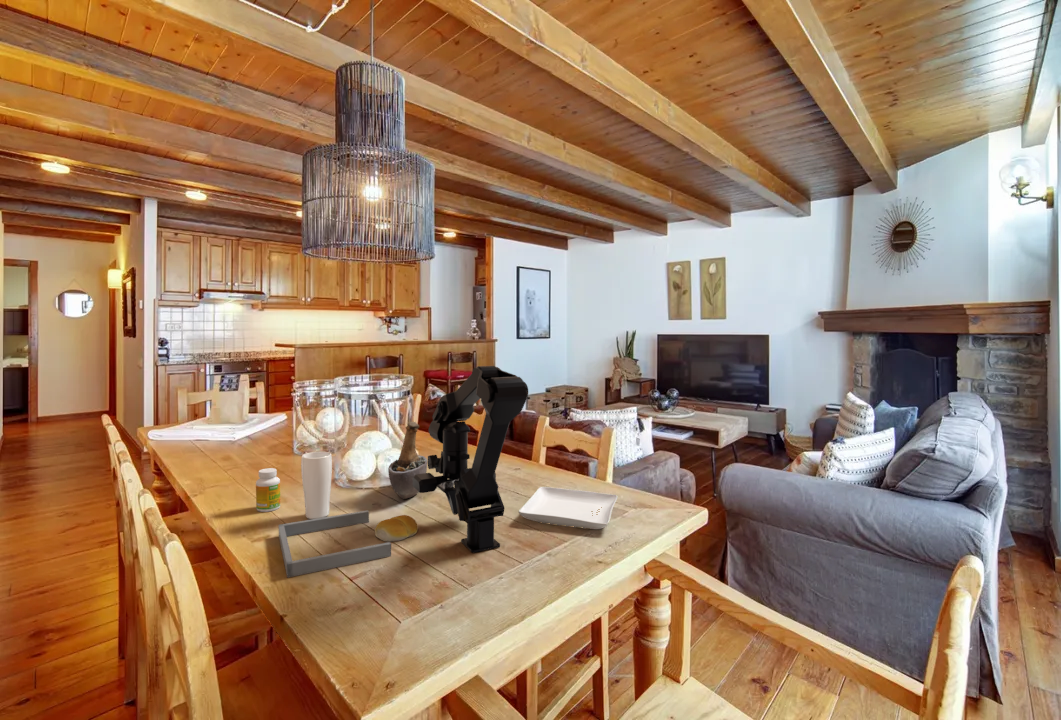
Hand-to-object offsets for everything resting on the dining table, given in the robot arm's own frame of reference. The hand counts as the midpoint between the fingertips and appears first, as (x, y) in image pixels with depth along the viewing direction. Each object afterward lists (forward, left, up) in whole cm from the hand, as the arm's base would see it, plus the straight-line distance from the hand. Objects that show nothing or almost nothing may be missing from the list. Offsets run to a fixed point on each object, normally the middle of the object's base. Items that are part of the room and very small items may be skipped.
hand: (455, 514), depth 122 cm
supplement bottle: (+30, +38, -2) cm, 48 cm away
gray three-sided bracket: (0, +27, -2) cm, 27 cm away
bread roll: (0, +14, -2) cm, 14 cm away
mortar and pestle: (+25, +4, -2) cm, 25 cm away
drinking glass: (+19, +28, -2) cm, 34 cm away
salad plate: (-8, -27, -3) cm, 29 cm away
